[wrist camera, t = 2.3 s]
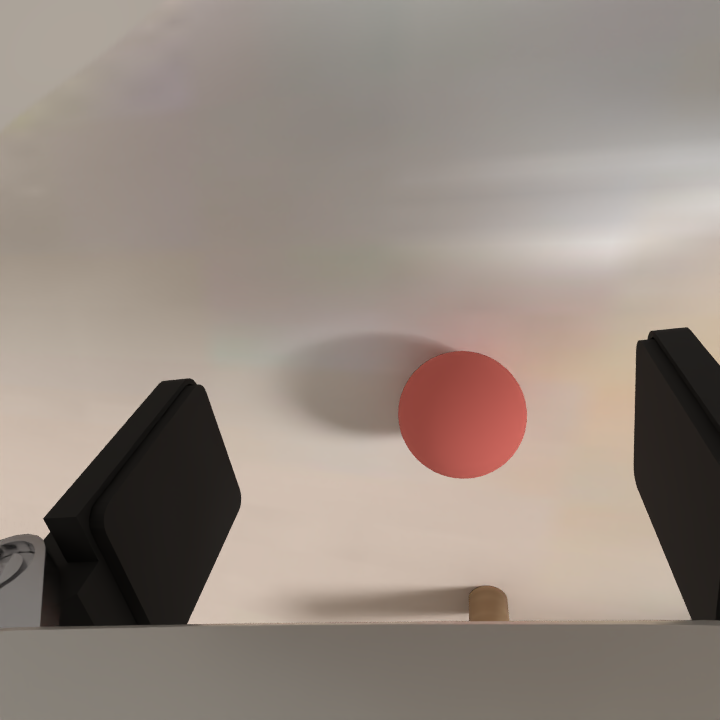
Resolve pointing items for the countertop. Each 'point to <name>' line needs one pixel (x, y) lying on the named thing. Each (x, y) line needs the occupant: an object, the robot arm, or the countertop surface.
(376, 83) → the countertop surface
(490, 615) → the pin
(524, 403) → the ball
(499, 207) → the countertop surface
